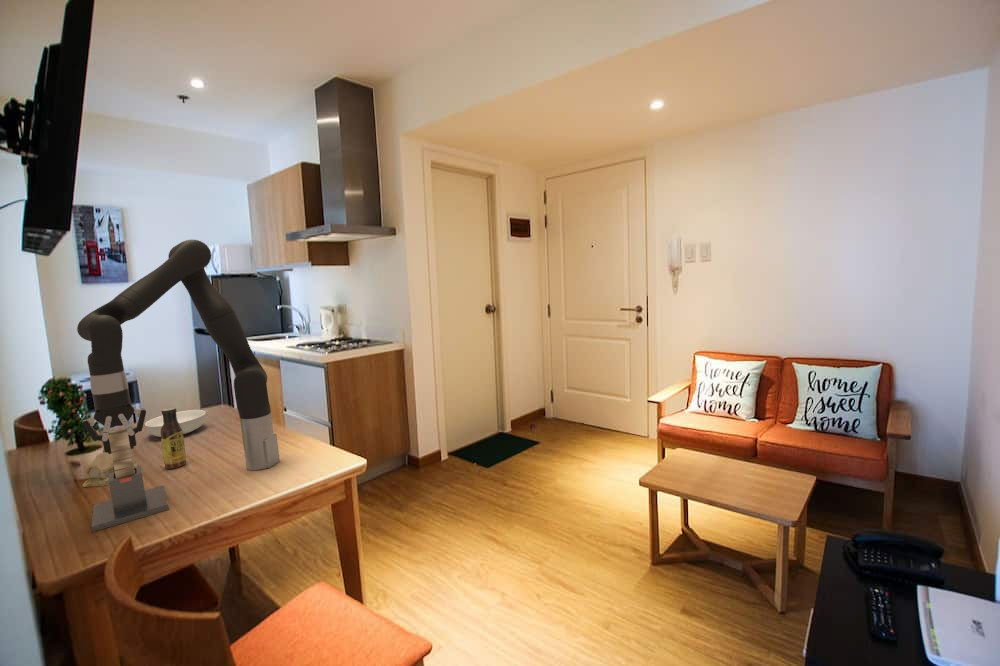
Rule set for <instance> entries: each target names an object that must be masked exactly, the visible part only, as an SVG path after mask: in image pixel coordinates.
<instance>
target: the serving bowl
mask: <svg viewBox="0 0 1000 666" xmlns="http://www.w3.org/2000/svg"><path fill="white" fill-rule="evenodd" d="M206 415H207V412H206V411H205V410H202V409H188V410H182V411H181V410H180V411H177V412H176V417H177V421H178V423H179V425H180V427H181V429H182V430H183V436H185V435H187V434H189V433H191V432H194V431H196V430H197V429H199V428H201V426H202V425H203V424H204V422H205V420H206V417H207V416H206ZM163 424H164V422H163V415H160V416H156V417H154V418H151V419H149V420H147V421H146V422H145V423H144V426H145V429H146V431H147V432H148V433H149V435H150V434H151V435H152V436H155V437H159V438H161V428H162V426H163Z"/></svg>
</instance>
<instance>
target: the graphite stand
mask: <svg viewBox="0 0 1000 666" xmlns="http://www.w3.org/2000/svg"><path fill="white" fill-rule="evenodd" d="M134 470H135V474H132V475H128V476H124V477H120V478H116V476H115V472H113V473H109V492H110V497H111V499H108V500H106V501H101V502H98V503H95V504H93V508H92V518H91V531H92V533H94V532H99V531H101V530H105V529H108V528H112V527H115V526H118V525H121V524H122V525H123V524H125V523H127V522H131V521H135V520H138V519H141V518H145V517H147V516H151V515H155V514H159V513H161V512H165V511H167V510H170V508H169V501H168V499H167V494H166V490H165V485H159V486H157V487H154V488H149V489H146V490H145V485H144V478H143V471H142V467H141V465H139V466H138V467H134Z"/></svg>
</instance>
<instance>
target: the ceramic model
mask: <svg viewBox="0 0 1000 666" xmlns="http://www.w3.org/2000/svg"><path fill="white" fill-rule="evenodd" d="M133 464H134V467H138V466H140V465H139V462H138V461H133ZM113 472H114V464H113V459H112V454H108V452H107V453H106V452H105V451H104V449H103V450H102V452H100V453H99V454H97V455H96V457H95V458H94V459H93V460H92V461H91V463H89V465H88V466H87V468H86V470H85V473H86V475H87V476H88V479H87V480H85V481H84V483H83V484H82V485H81V487H83V488H90V487H104V486H108V485H109V473H113Z"/></svg>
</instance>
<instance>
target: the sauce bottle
mask: <svg viewBox="0 0 1000 666" xmlns="http://www.w3.org/2000/svg"><path fill="white" fill-rule="evenodd" d="M176 412H178V411H177V408H176V407H169V408H164V409H161V414H162V415H163V422H164V424H163V426H162V428H161V437H160V443H161V448H162V449H161V451H162V458H163V464H164V468H165V469H167V470H172V469H177V468H180V467H183V466H185V465H186V464H187V456H186V455H187V453H186V445H185V438H184V435H183V430H182V429H181V427H180V425H179V423H178V421H177V417H176ZM162 415H161V416H162Z"/></svg>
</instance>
